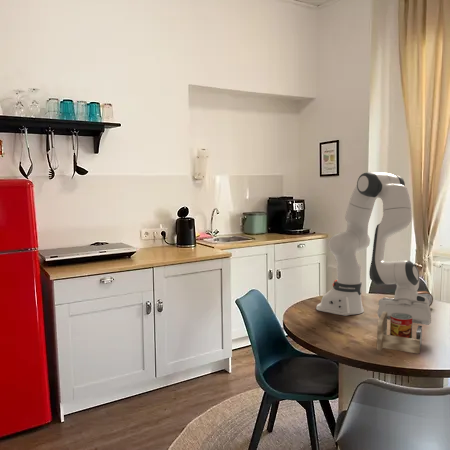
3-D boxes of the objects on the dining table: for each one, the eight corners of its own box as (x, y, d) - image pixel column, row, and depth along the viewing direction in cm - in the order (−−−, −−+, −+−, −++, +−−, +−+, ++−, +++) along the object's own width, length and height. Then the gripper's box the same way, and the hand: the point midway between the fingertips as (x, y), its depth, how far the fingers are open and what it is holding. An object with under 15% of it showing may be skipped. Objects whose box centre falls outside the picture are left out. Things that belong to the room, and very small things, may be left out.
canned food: (386, 342, 173) (386, 312, 172) (405, 341, 174) (406, 312, 172) (395, 350, 165) (396, 319, 164) (415, 349, 166) (416, 318, 165)
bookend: (415, 349, 165) (416, 331, 165) (417, 342, 172) (418, 325, 172) (419, 350, 165) (420, 332, 164) (421, 343, 172) (422, 325, 171)
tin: (429, 306, 219) (430, 289, 218) (433, 308, 216) (434, 291, 215) (402, 308, 216) (402, 291, 216) (406, 310, 213) (406, 293, 212)
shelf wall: (376, 349, 166) (377, 321, 165) (382, 337, 178) (383, 311, 177) (418, 356, 159) (419, 327, 158) (421, 343, 171) (422, 316, 170)
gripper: (378, 293, 184) (374, 322, 177) (432, 299, 175) (429, 330, 167) (380, 300, 189) (375, 329, 181) (432, 307, 179) (430, 338, 172)
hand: (402, 330), depth 174 cm, fingers closed
